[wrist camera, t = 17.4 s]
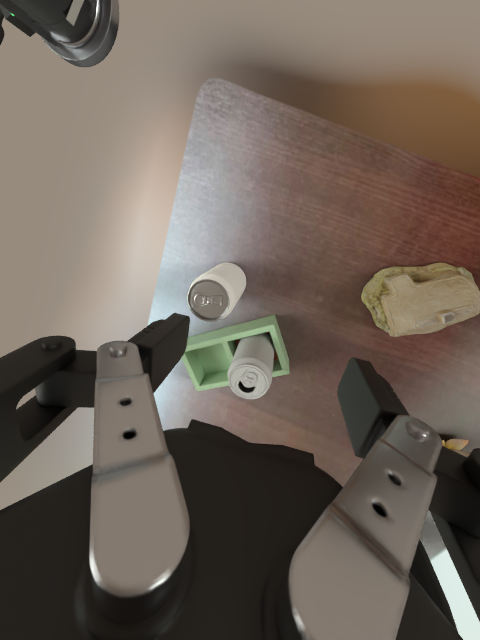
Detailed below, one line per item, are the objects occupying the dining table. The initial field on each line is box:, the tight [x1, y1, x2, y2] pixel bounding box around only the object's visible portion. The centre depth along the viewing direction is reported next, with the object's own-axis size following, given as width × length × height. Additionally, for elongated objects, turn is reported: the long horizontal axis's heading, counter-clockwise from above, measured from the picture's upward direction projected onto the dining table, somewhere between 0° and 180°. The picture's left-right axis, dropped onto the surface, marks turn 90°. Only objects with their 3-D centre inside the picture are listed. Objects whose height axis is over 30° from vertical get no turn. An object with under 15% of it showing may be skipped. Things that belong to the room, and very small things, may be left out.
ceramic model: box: [361, 263, 480, 337], centre depth 33 cm, size 14×11×10 cm
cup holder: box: [182, 315, 289, 391], centre depth 45 cm, size 9×18×5 cm, turn 109°
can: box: [187, 263, 246, 322], centre depth 37 cm, size 6×6×12 cm
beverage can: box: [228, 332, 275, 399], centre depth 39 cm, size 6×6×12 cm
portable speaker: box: [410, 539, 458, 632], centre depth 47 cm, size 9×9×20 cm
